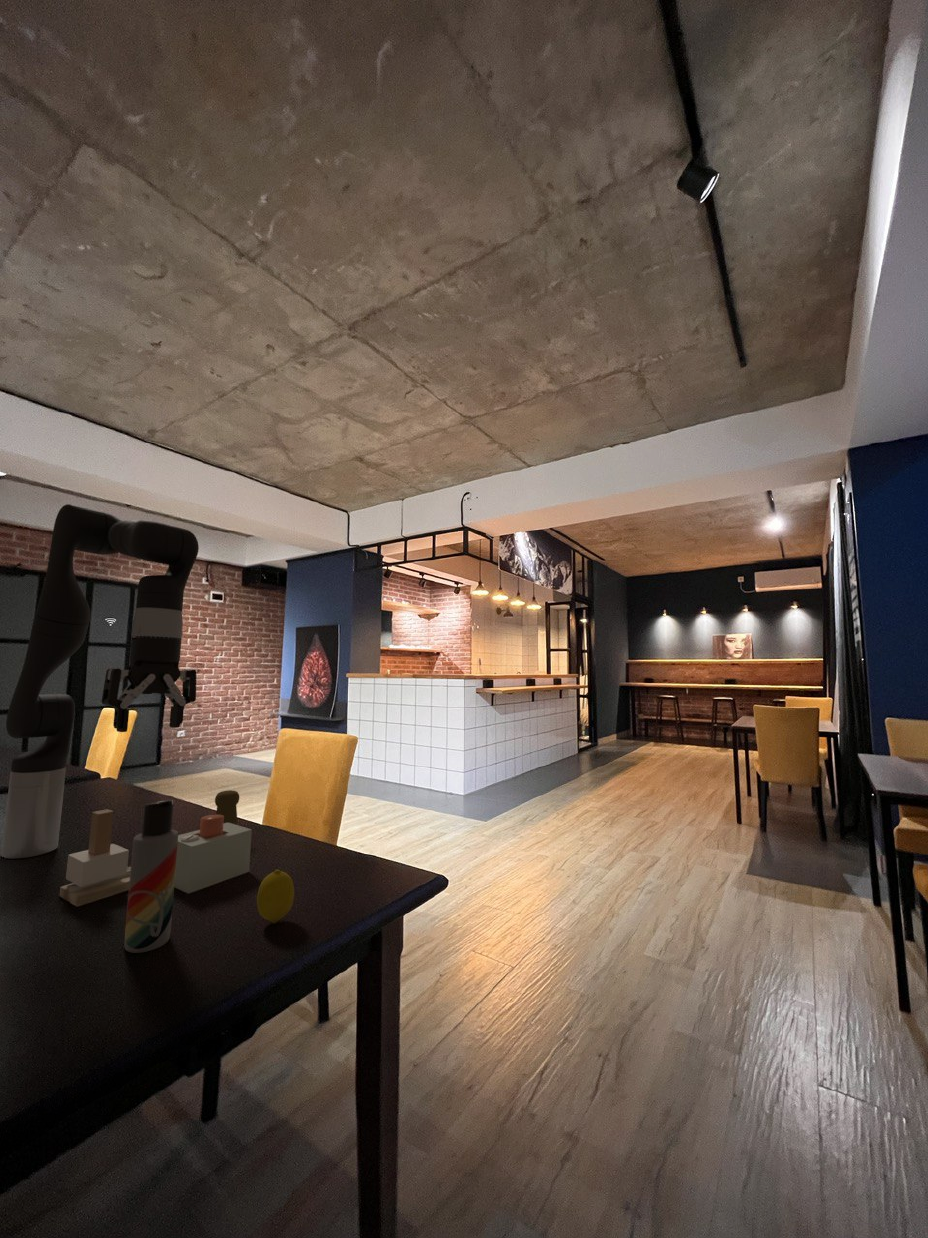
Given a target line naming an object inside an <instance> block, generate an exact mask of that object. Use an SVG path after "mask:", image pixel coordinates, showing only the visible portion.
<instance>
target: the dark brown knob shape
mask: <svg viewBox="0 0 928 1238" xmlns="http://www.w3.org/2000/svg"><path fill="white" fill-rule="evenodd" d="M239 801H240V794H239V792H238V791H236V790H228V789H227V790H224V791H220V792H218V793H216V795H215V799H214V804H215V806H216V811H215V815H223V816H224V822H223V824H224V823H232V824H235V825H238V826H239V824H238V811H237V810H238V809H237V804H239Z"/></svg>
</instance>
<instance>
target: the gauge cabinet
mask: <svg viewBox="0 0 928 1238" xmlns="http://www.w3.org/2000/svg"><path fill="white" fill-rule="evenodd" d="M252 830H253V829H251V828H248V827H244V826H242V825H239V824H238V825H235V824H232V823H224V824H223V835H220V836H216V837H212V838H209V839H205V838H202V837H200V829H198V830H193V831H190V832H185V833H181V834H178V845H177V858H176V871H175V883H174V889H178V890H180V891H181V892H184V893H186V894H187V895H189V894H191V893H195V892H197V891H199V890H202V889H205V888H208V887H210V886H213V885H216V884H219V883H222V882H225V881H226V880H230V879H233V878H236V877H238V876H242V875H245V874H246V873H249V872H250V864H251V851H252V850H251V848H252V835H253V832H252Z"/></svg>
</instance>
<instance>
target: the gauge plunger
mask: <svg viewBox="0 0 928 1238" xmlns="http://www.w3.org/2000/svg"><path fill="white" fill-rule="evenodd" d="M223 822H224V816H223V815H216V814H209V815H204V816H202V817H201V818H200V825H199V828H200V829H199V830H200V837H202V838H205V839H209V838H212V837H216V836H220V835H223Z"/></svg>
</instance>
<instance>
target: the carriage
mask: <svg viewBox="0 0 928 1238" xmlns="http://www.w3.org/2000/svg"><path fill="white" fill-rule="evenodd" d="M113 822H114V811H113V810H111V809H108V808H106V809H102V810H96V811H92V812H91V821H90V831H89V841H88V849H85V850H82V851H78V852H73V853H70V854H68V856H67V862H66V863H67V866H66V873H65V874H66V875H65V879H66V880H67V881H69V882H70V883H71V884H72V883H74V884H76V885H78V886H80V887H83V886H87V885H90V884H93V883H97V882H100V881H104V880H107V879H110V878H114V877H117V876H120V875H124V874H127V868H128V867H129V865H128V864H129V853H130V850H129V849H127V848H124V847H123V846H120V845H117V844H115V843H112V833H113Z"/></svg>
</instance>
